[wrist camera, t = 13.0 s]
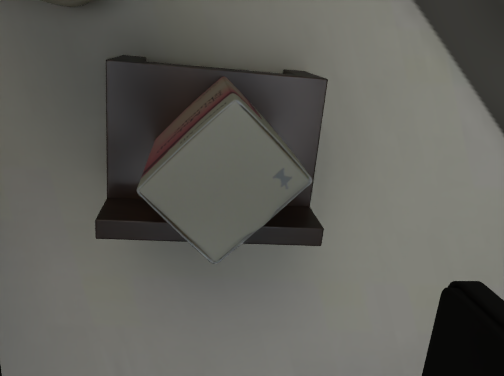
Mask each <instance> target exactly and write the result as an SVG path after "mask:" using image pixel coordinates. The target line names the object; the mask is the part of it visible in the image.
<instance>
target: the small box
mask: <svg viewBox="0 0 504 376" xmlns="http://www.w3.org/2000/svg"><path fill="white" fill-rule="evenodd" d="M311 183H312V178H311V176H310V175H309V174H308V172H307V171H306V170H305V168H304V167H303V166H302V164H301V163H300V162H299V160H298V159H297V158H296V156H295V155H294V154H293V153H292V151H291V150H290V149H289V148H288V146H287V145H286V144H285V143H284V141H283V140H282V139H281V138H280V136H279V135H278V134H277V133H276V132H275V131H274V129H273V128H272V127H271V126H270V125H269V123H268V122H267V121H266V120H265V119H264V118H263V116H262V115H261V114H260V113H259V112H258V111H257V110H256V108H255V107H254V106H253V105H252V104H251V103H250V102H249V101H248V100H247V99H246V98H245V96H244V95H243V94H242V93H241V92H240V91H239V90H238V89H237V88H236V87H235V86H234V85H233V84H232V83H231V82H230V81H229V80H228V79H227V78H226V77H221V78H220V79H219V80H218V81H216V82H215V83H214V84H213V85H212V86H211V87H210V88H208V89H207V90H206V91H205V92H204V93H203V94H202V95H201V96H199V97H198V98H197V99H196V100H195V101H194V102H193V103H192V104H191V105H190V106H188V107H187V108H186V109H185V110H184V111H183V112H182V113H181V114H180V115H179V116H178V117H177V118H176V119H175V120H174V121H173V122H172V123H171V124H170V125H169V126H168V127H167V128H166V129H165V130H164V131H163V132H162V133H161V134H160V135H159V136H158V137H157V138H156V140H155V141H154V144H153V147H152V149H151V152H150V154H149V158H148V160H147V163H146V166H145V169H144V171H143V174H142V177H141V180H140V182H139V185H138V187H137V193H138V194H139V195H140V196H141V197H142V198H143V199H144V200H145V201H146V202H147V203H148V204H149V205H150V206H151V207H152V208H153V209H154V210H155V211H156V212H157V213H158V214H159V215H160V216H161V217H162V218H163V219H164V220H165V221H167V223H169V224H170V225H171V226H172V227H173V228H174V229H175V230H176V231H177V232H178V233H179V234H180V235H181V236H182V237H183V238H184V239H185V240H187V241H188V242H189V243H190V244H191V245H192V246H193V247H194V248H195V249H196V250H197V251H199V252H200V253H201V254H202V255H203V256H204V257H205V258H206V259H207V260H208V261H209V262H211V263H213V264H215V263H219V262H220V261H221V260H223V259H224V258H225V257H226V256H227V255H229V254H230V253H231V252H232V251H234V250H235V249H236V248H237V247H238V246H239V245H241V244H242V243H243V242H244V241H246V240H247V239H248V238H249V237H250V236H251V235H252V234H254V233H255V232H256V231H257V230H259V229H260V228H261V227H262V226H264V225H265V224H266V223H267V222H268V221H269V220H270V219H271V218H272V217H274V216H275V215H276V214H277V213H278V212H279V211H280V210H281V209H283V208H284V207H285V206H286V205H287V204H288V203H289V202H290V201H292V200H293V199H294V198H295V197H296V196H297V195H298V194H300V193H301V192H302V191H303V190H304V189H305V188H306V187H308V186H309V185H310V184H311Z"/></svg>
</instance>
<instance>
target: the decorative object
mask: <svg viewBox="0 0 504 376" xmlns="http://www.w3.org/2000/svg"><path fill="white" fill-rule="evenodd" d="M41 1H44V2H48V3H52V4H56V5H61V6H67V7H76V6H81V5H84V4H86V3H88V2H89V1H90V0H41Z"/></svg>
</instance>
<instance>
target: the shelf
mask: <svg viewBox="0 0 504 376" xmlns="http://www.w3.org/2000/svg"><path fill="white" fill-rule="evenodd" d="M221 77H226V78H227V79H228V80H229V81H230V82H231V83H232V84H233V85H234V86H235V87H236V88H237V89H238V90H239V91H240V92H241V93H242V94H243V95H244V96H245V98H246V99H247V100H248V101H249V102H250V103H251V104H252V105H253V106H254V107H255V108H256V110H257V111H258V112H259V113H260V114H261V115H262V116H263V118H264V119H265V120H266V121H267V122H268V123H269V125H270V126H271V127H272V128H273V129H274V131H275V132H276V133H277V134H278V135H279V136H280V138H281V139H282V140H283V141H284V143H285V144H286V145H287V146H288V148H289V149H290V150H291V151H292V153H293V154H294V155H295V156H296V158H297V159H298V160H299V162H300V163H301V164H302V166H303V167H304V168H305V170H306V171H307V172H308V174H309V175H310V176H311V178H312V183H311V184H310V185H309V186H308V187H306V188H305V189H304V190H303V191H302V192H301V193H300V194H298V195H297V196H296V197H295V198H294V199H293V200H292V201H290V202H289V203H288V204H287V205H286V206H285V207H284V208H283V209H281V210H280V211H279V212H278V213H277V214H276V215H275V216H274V217H272V218H271V219H270V220H269V221H268V222H267V223H266V224H265V225H264V226H262V227H261V228H260V229H259V230H257V231H256V232H255V233H254V234H252V235H251V236H250V237H249V238H248V239H247V240H246V241H244V242H243V243H245V244H275V245H305V246H321V243H322V237H323V230H324V228H323V227H322V225H321V224H320V222H319V221H318V219H317V218H316V216H315V215H314V213H313V212H312V210H311V208H310V201H311V193H312V186H313V179H314V172H315V165H316V158H317V151H318V144H319V137H320V130H321V123H322V116H323V109H324V102H325V95H326V88H327V81H328V80H327V79H326V78H323V77H320V76H317V75H314V74H311V73H308V72H306V71H296V70H283V74H282V73H270V72H259V71H248V70H236V69H225V68H213V67H202V66H191V65H179V64H168V63H157V62H146V57H139V56H128V55H122V56H118V57H115V58H112V59H108V60H106V129H107V199H106V201H105V203H104V205H103V207H102V209H101V210H100V212H99V214H98V216H97V218H96V220H95V231H96V238H97V239H124V240H154V241H185V242H188V241H187V240H185V239H184V238H183V237H182V236H181V235H180V234H179V233H178V232H177V231H176V230H175V229H174V228H173V227H172V226H171V225H170V224H169V223H167V221H165V220H164V219H163V218H162V217H161V216H160V215H159V214H158V213H157V212H156V211H155V210H154V209H153V208H152V207H151V206H150V205H149V204H148V203H147V202H146V201H145V200H144V199H143V198H142V197H141V196H140V195H139V194H138V193H137V187H138V185H139V182H140V180H141V177H142V174H143V171H144V169H145V166H146V163H147V160H148V158H149V154H150V152H151V149H152V147H153V144H154V141H155V140H156V138H157V137H158V136H159V135H160V134H161V133H162V132H163V131H164V130H165V129H166V128H167V127H168V126H169V125H170V124H171V123H172V122H173V121H174V120H175V119H176V118H177V117H178V116H179V115H180V114H181V113H182V112H183V111H184V110H185V109H186V108H187V107H188V106H190V105H191V104H192V103H193V102H194V101H195V100H196V99H197V98H198V97H199V96H201V95H202V94H203V93H204V92H205V91H206V90H207V89H208V88H210V87H211V86H212V85H213V84H214V83H215V82H216V81H218V80H219V79H220V78H221Z"/></svg>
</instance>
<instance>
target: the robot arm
mask: <svg viewBox="0 0 504 376" xmlns="http://www.w3.org/2000/svg"><path fill="white" fill-rule="evenodd" d="M0 376H2V374H1V366H0ZM422 376H504V301H503V300H502V299H501V298H500V297H499V296H497V295H496V294H495V293H494V292H493V291H492V290H490V289H489V288H488V287H487V286H486V285H484V284H483V283H481V282H480V281H454V282H451V283H450V285H449V286H448V288H445V289H444V290H443V291H442V293H441V297H440V301H439V305H438V309H437V314H436V318H435V322H434V326H433V331H432V335H431V339H430V343H429V347H428V352H427V356H426V360H425V364H424V369H423V373H422Z"/></svg>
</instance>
